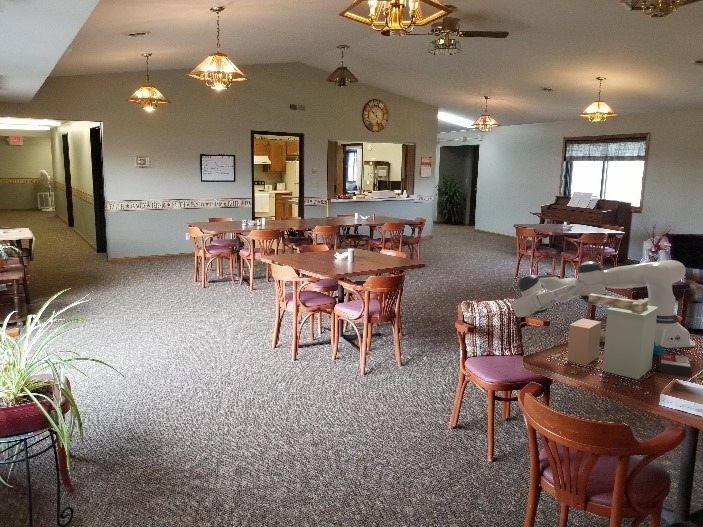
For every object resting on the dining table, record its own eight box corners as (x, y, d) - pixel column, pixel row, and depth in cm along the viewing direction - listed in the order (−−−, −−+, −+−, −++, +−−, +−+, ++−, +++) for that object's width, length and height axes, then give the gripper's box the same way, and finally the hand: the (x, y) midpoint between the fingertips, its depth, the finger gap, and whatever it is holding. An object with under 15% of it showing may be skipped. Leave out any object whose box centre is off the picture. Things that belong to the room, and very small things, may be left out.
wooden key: (585, 303, 226) (585, 296, 225) (594, 298, 233) (594, 292, 232) (639, 312, 211) (640, 304, 211) (647, 307, 218) (648, 300, 218)
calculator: (689, 356, 228) (692, 365, 215) (688, 366, 228) (690, 376, 215) (659, 352, 233) (660, 361, 220) (658, 361, 234) (659, 371, 220)
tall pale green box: (601, 370, 220) (606, 308, 216) (616, 359, 233) (622, 301, 229) (638, 379, 211) (644, 315, 206) (652, 368, 223) (658, 307, 219)
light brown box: (567, 360, 232) (569, 324, 229) (580, 352, 242) (582, 318, 239) (585, 365, 227) (588, 328, 224) (598, 357, 237) (601, 321, 234)
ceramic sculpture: (595, 321, 261) (629, 326, 255) (592, 338, 263) (626, 344, 256) (593, 326, 252) (629, 333, 245) (590, 344, 254) (626, 351, 247)
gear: (670, 354, 235) (659, 340, 232) (664, 365, 234) (654, 351, 230) (645, 350, 245) (635, 337, 241) (640, 361, 243) (630, 348, 240)
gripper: (556, 301, 250) (583, 290, 241) (536, 309, 236) (564, 298, 226) (550, 288, 251) (577, 277, 242) (530, 296, 237) (558, 284, 228)
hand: (571, 287), depth 234 cm, fingers open, 8 cm apart
